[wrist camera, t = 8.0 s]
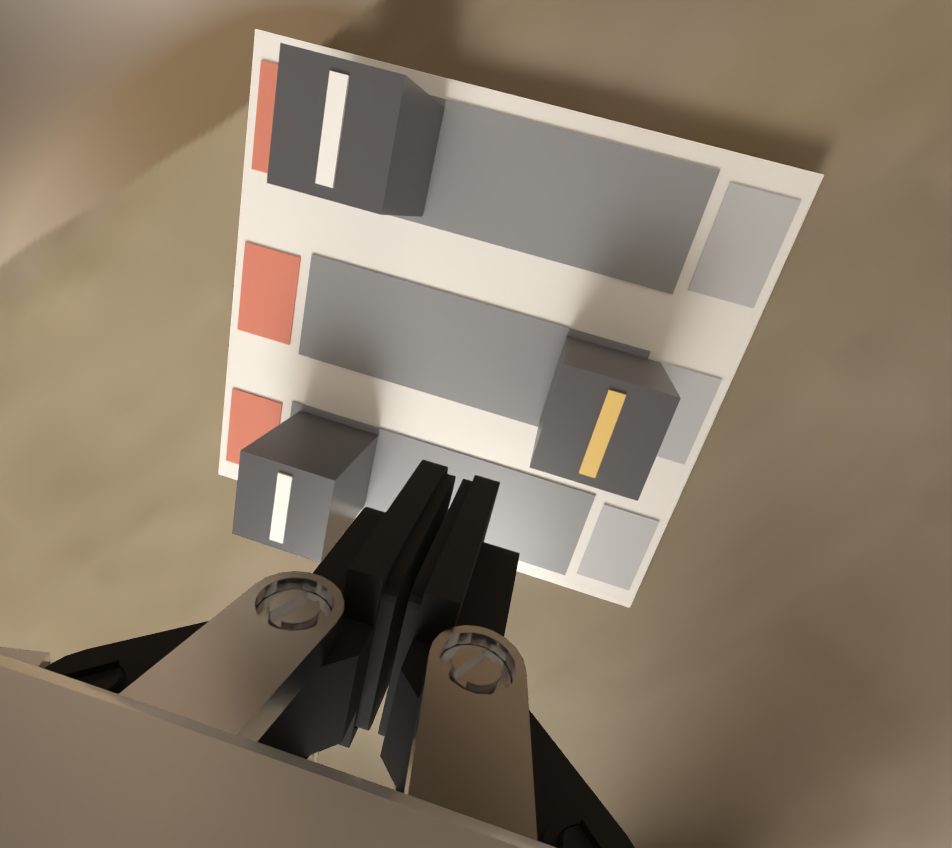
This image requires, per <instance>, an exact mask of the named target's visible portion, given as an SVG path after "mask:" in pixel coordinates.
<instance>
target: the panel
mask: <svg viewBox="0 0 952 848" xmlns="http://www.w3.org/2000/svg"><path fill="white" fill-rule="evenodd" d="M823 176H824V175H823V174H819V173H815V172H811V171H807V170H803V169H800V168H796V167H792V166H788V165H784V164H780V163H776V162H772V161H768V160H765V159H761V158H757V157H753V156H749V155H745V154H741V153H737V152H733V151H729V150H726V149H722V148H718V147H714V146H710V145H706V144H702V143H698V142H694V141H690V140H687V139H683V138H679V137H675V136H671V135H667V134H663V133H659V132H655V131H651V130H648V129H644V128H640V127H636V126H632V125H628V124H624V123H620V122H616V121H612V120H609V119H605V118H601V117H597V116H593V115H589V114H585V113H581V112H577V111H574V110H570V109H566V108H562V107H558V106H554V105H550V104H546V103H542V102H538V101H535V100H531V99H527V98H523V97H519V96H515V95H511V94H507V93H503V92H499V91H496V90H492V89H488V88H484V87H480V86H476V85H472V84H468V83H464V82H460V81H457V80H453V79H449V78H445V77H441V76H437V75H433V74H429V73H425V72H421V71H418V70H414V69H410V68H406V67H402V66H398V65H394V64H390V63H386V62H383V61H379V60H375V59H371V58H367V57H363V56H359V55H355V54H351V53H347V52H344V51H340V50H336V49H332V48H328V47H324V46H320V45H316V44H312V43H308V42H304V41H301V40H296V39H293V38H289V37H285V36H281V35H277V34H273V33H269V32H265V31H262V30H258V29H255V39H254V51H253V63H252V75H251V87H250V99H249V111H248V123H247V135H246V148H245V160H244V172H243V184H242V196H241V208H240V220H239V232H238V244H237V256H236V268H235V280H234V292H233V305H232V317H231V329H230V341H229V353H228V365H227V377H226V389H225V401H224V413H223V425H222V437H221V449H220V462H219V474H220V475H223V476H226V477H229V478H232V479H235V480H237V490H236V501H235V511H234V521H233V531H232V534H235V535H238V536H241V537H244V538H247V539H250V540H253V541H256V542H259V543H262V544H265V545H268V546H271V547H274V548H277V549H280V550H283V551H286V552H289V553H292V554H295V555H298V556H301V557H304V558H307V559H310V560H313V561H316V562H319V563H321V562H322V560H323V559H324V558H325V557H326V555H327V554H328V553H329V551H330V550H331V549H332V547H333V546H334V545H335V544H336V542H337V541H338V540H339V538H340V537H341V536H342V534H343V533H344V532H345V531H346V529H347V528H348V527H349V525H350V524H351V523H352V521H353V520H354V519H355V518H356V517H357V516H358V515H359V513H360V512H361V511H362V510H363V509H364V508H365V507H370V508H373V509H376V510H380V511H383V512H386V511H387V510H388V509H389V507H390V506H391V504H392V503H393V501H394V500H395V498H396V497H397V496H398V494H399V493H400V491H401V490H402V488H403V487H404V485H405V484H406V482H407V481H408V480H409V478H410V477H411V475H412V474H413V472H414V471H415V469H416V468H417V466H418V465H419V464H420V462H421V461H422V460H426V461H430V462H433V463H437V464H440V465H443V466H447V467H448V473H447V474H450V475H453V476H456V479H455V484H454V488H453V492H452V496H451V501H450V505H451V503H452V501H453V499H454V497H455V495H456V493H457V491H458V488H459V486H460V484H461V482H462V480H463V479H467V480H470V481H473V478H474V476H475V475H478V476H481V477H484V478H488V479H491V480H495V481H498V482H500V485H499V489H498V493H497V496H496V500H495V504H494V507H493V511H492V514H491V518H490V522H489V525H488V529H487V532H486V536H485V540H484V542H485V543H488V544H492V545H495V546H498V547H502V548H505V549H508V550H511V551H515V552H518V553H519V554H520V555H519V561H518V566H517V571H518V572H521V573H524V574H527V575H530V576H533V577H536V578H539V579H543V580H546V581H549V582H552V583H555V584H558V585H561V586H564V587H567V588H570V589H573V590H576V591H579V592H583V593H586V594H589V595H592V596H595V597H598V598H601V599H604V600H607V601H610V602H613V603H616V604H619V605H622V606H626V607H629V608H630V606H631V604H632V602H633V599H634V597H635V595H636V593H637V591H638V588H639V586H640V584H641V582H642V579H643V577H644V575H645V573H646V570H647V568H648V566H649V564H650V562H651V559H652V557H653V555H654V553H655V550H656V548H657V546H658V544H659V542H660V539H661V537H662V535H663V533H664V530H665V528H666V526H667V524H668V522H669V519H670V517H671V515H672V513H673V510H674V508H675V506H676V504H677V501H678V499H679V497H680V495H681V493H682V490H683V488H684V486H685V484H686V481H687V479H688V477H689V475H690V473H691V470H692V468H693V466H694V464H695V461H696V459H697V457H698V455H699V453H700V450H701V448H702V446H703V444H704V441H705V439H706V437H707V435H708V432H709V430H710V428H711V426H712V424H713V421H714V419H715V417H716V415H717V412H718V410H719V408H720V406H721V404H722V401H723V399H724V397H725V395H726V392H727V390H728V388H729V386H730V383H731V381H732V379H733V377H734V375H735V372H736V370H737V368H738V366H739V363H740V361H741V359H742V357H743V355H744V352H745V350H746V348H747V346H748V343H749V341H750V339H751V337H752V335H753V332H754V330H755V328H756V326H757V323H758V321H759V319H760V317H761V314H762V312H763V310H764V308H765V306H766V303H767V301H768V299H769V297H770V294H771V292H772V290H773V288H774V286H775V283H776V281H777V279H778V277H779V274H780V272H781V270H782V268H783V266H784V263H785V261H786V259H787V257H788V254H789V252H790V250H791V248H792V245H793V243H794V241H795V239H796V237H797V234H798V232H799V230H800V228H801V225H802V223H803V221H804V219H805V217H806V214H807V212H808V210H809V208H810V205H811V203H812V201H813V199H814V197H815V194H816V192H817V190H818V188H819V185H820V183H821V181H822V179H823ZM566 336H571V337H574V338H577V339H581V340H584V341H588V342H591V343H595V344H598V345H602V346H605V347H609V348H612V349H616V350H619V351H622V352H626V353H629V354H633V355H636V356H640V357H643V358H647V359H650V360H654V361H657V362H661V364H662V366H663V367H664V369H665V371H666V373H667V374H668V376H669V378H670V380H671V382H672V383H673V385H674V387H675V389H676V390H677V392H678V394H679V396H680V397H681V399H680V401H679V404H678V406H677V408H676V411H675V413H674V416H673V418H672V420H671V423H670V425H669V428H668V430H667V432H666V435H665V437H664V440H663V442H662V444H661V447H660V449H659V452H658V454H657V456H656V459H655V461H654V464H653V466H652V468H651V471H650V473H649V476H648V478H647V480H646V483H645V485H644V487H643V490H642V492H641V495H640V497H639V499H638V501H636V500H633V499H629V498H626V497H623V496H620V495H617V494H613V493H610V492H607V491H604V490H600V489H597V488H594V487H591V486H588V485H584V484H581V483H578V482H575V481H571V480H568V479H565V478H562V477H558V476H555V475H552V474H549V473H546V472H542V471H539V470H536V469H533V468H529V467H530V462H531V458H532V453H533V448H534V444H535V439H536V435H537V430H538V425H539V421H540V418H541V415H542V411H543V408H544V405H545V402H546V399H547V396H548V393H549V390H550V386H551V383H552V380H553V377H554V374H555V371H556V368H557V365H558V361H559V358H560V355H561V352H562V349H563V346H564V343H565V339H566ZM450 505H449V507H450ZM448 510H449V509H448Z"/></svg>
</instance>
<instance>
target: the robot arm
mask: <svg viewBox="0 0 952 848" xmlns="http://www.w3.org/2000/svg"><path fill="white" fill-rule="evenodd" d="M447 473H448V467H447V466H443V465H440V464H437V463H433V462H430V461H426V460H422V461H421V462H420V464H419V465H418V466H417V468H416V469H415V471H414V472H413V474H412V475H411V477H410V478H409V480H408V481H407V482H406V484H405V485H404V487H403V488H402V490H401V491H400V493H399V494H398V496H397V497H396V498H395V500H394V501H393V503H392V504H391V506H390V507H389V509H388V510H387V511H386V512H383V511H380V510H376V509H373V508H370V507H365V508H364V509H363V510H362V511H361V512H360V513H359V515H358V516H357V517H356V518H355V520H354V521H353V522H352V524H351V525H350V526H349V527H348V529H347V530H346V531H345V533H344V534H343V535H342V536H341V538H340V539H339V540H338V541H337V543H336V544H335V545H334V547H333V548H332V549H331V550H330V552H329V553H328V554H327V556H326V557H325V558H324V559H323V561H322V562H321V563H320V565H319V566H318V567H317V568H316V570H315V571H314V572H313V573H310V572H299V571H292V572H282V573H278V574H275V575H272V576H268V577H266V578H264V579H263V580H261V581H259V582H258V583H256V584H255V585H253V586H252V587H251V588H250V589H248V590H247V591H246V592H245V593H243V594H242V595H241V596H240V597H238V598H237V599H236V600H235V601H233V602H232V603H231V604H230V605H228V606H227V607H226V608H225V609H224V610H222V611H221V612H220V613H219V614H217V615H216V616H215V617H214V618H212V619H211V620H210V621H207V622H203V623H198V624H194V625H190V626H185V627H181V628H177V629H172V630H168V631H164V632H159V633H155V634H151V635H146V636H142V637H138V638H133V639H129V640H125V641H120V642H116V643H112V644H108V645H103V646H99V647H95V648H90V649H86V650H83V651H80V652H77V653H74V654H71V655H67V656H65V657H63V658H61V659H59V660H57V661H55V662H50V653H48V652H39V651H31V650H22V649H14V648H6V647H0V848H635V847H634V846H633V844H632V843H631V841H630V839H629V838H628V836H627V835H626V834H625V832H624V831H623V830H622V828H621V827H620V826H619V825H618V823H617V822H616V821H615V819H614V818H613V817H612V816H611V814H610V813H609V812H608V810H607V809H606V808H605V807H604V805H603V804H602V803H601V801H600V800H599V799H598V798H597V796H596V795H595V794H594V792H593V791H592V790H591V789H590V787H589V786H588V785H587V783H586V782H585V781H584V780H583V778H582V777H581V776H580V774H579V773H578V772H577V771H576V769H575V768H574V767H573V765H572V764H571V763H570V762H569V760H568V759H567V758H566V756H565V755H564V754H563V753H562V751H561V750H560V749H559V748H558V746H557V745H556V744H555V742H554V741H553V740H552V739H551V737H550V736H549V735H548V733H547V732H546V731H545V730H544V728H543V727H542V726H541V724H540V723H539V722H538V721H537V719H536V718H535V717H534V715H533V714H532V713H531V712H530V710H529V703H528V688H527V673H526V668H525V664H524V660H523V658H522V656H521V655H520V653H519V651H518V650H517V648H516V647H515V646H514V645H513V644H512V643H511V642H510V641H508V640H507V639H506V638H505V637H504V634H505V628H506V623H507V618H508V613H509V607H510V602H511V597H512V592H513V587H514V581H515V576H516V571H517V566H518V561H519V555H520V554H519V553H518V552H515V551H511V550H508V549H505V548H502V547H498V546H495V545H492V544H488V543H485V542H484V540H485V536H486V532H487V529H488V525H489V522H490V518H491V514H492V511H493V507H494V504H495V500H496V496H497V493H498V489H499V485H500V482H498V481H495V480H491V479H488V478H484V477H481V476H478V475H475V476H474V478H473V481H470V480H467V479H463V480H462V482H461V484H460V486H459V488H458V491H457V493H456V495H455V497H454V499H453V501H452V503H451V505H450V501H451V496H452V492H453V488H454V484H455V479H456V476H453V475H450V474H447ZM449 505H450V507H449ZM448 509H449V510H448ZM388 685H389V687H388ZM387 688H388V691H387V696H386V700H385V704H384V709H383V713H382V718H381V722H380V726H379V731H378V734H380V735H383V736H385V738H384V742H383V746H382V751H381V755H380V756H381V758H382V760H383V762H384V764H385V766H386V768H387V770H388V772H389V774H390V776H391V778H392V780H393V782H394V784H395V788H394V790H393V789H390V788H387V787H384V786H381V785H379V784H376V783H373V782H370V781H367V780H364V779H361V778H359V777H356V776H353V775H350V774H347V773H344V772H341V771H339V770H336V769H333V768H330V767H327V766H324V765H321V764H319V763H316V762H317V759H318V754H319V751H322V750H324V749H327V748H329V747H332V746H334V745H337V744H339V745H342V746H345V747H348V748H349V747H350V745H351V742H352V740H353V738H354V736H355V734H356V731H357V729H358V727H360V728H362V729H365V730H369V729H370V728H371V725H372V723H373V721H374V718H375V716H376V714H377V711H378V709H379V707H380V704H381V702H382V700H383V697H384V695H385V692H386V690H387Z"/></svg>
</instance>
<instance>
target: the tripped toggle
mask: <svg viewBox="0 0 952 848" xmlns="http://www.w3.org/2000/svg"><path fill="white" fill-rule="evenodd" d="M680 399H681V397H680V396H679V394H678V392H677V390H676V389H675V387H674V385H673V383H672V382H671V380H670V378H669V376H668V374H667V373H666V371H665V369H664V367H663V366H662V364H661V362H657V361H654V360H650V359H647V358H643V357H640V356H636V355H633V354H629V353H626V352H622V351H619V350H616V349H612V348H609V347H605V346H602V345H598V344H595V343H591V342H588V341H584V340H581V339H577V338H574V337H571V336H566V339H565V343H564V346H563V349H562V352H561V355H560V358H559V361H558V365H557V368H556V371H555V374H554V377H553V380H552V383H551V386H550V390H549V393H548V396H547V399H546V402H545V405H544V408H543V411H542V415H541V418H540V421H539V425H538V430H537V435H536V439H535V444H534V448H533V453H532V458H531V462H530V467H529V468H533V469H536V470H539V471H542V472H546V473H549V474H552V475H555V476H558V477H562V478H565V479H568V480H571V481H575V482H578V483H581V484H584V485H588V486H591V487H594V488H597V489H600V490H604V491H607V492H610V493H613V494H617V495H620V496H623V497H626V498H629V499H633V500H636V501H638V499H639V497H640V495H641V492H642V490H643V487H644V485H645V483H646V480H647V478H648V476H649V473H650V471H651V468H652V466H653V464H654V461H655V459H656V456H657V454H658V452H659V449H660V447H661V444H662V442H663V440H664V437H665V435H666V432H667V430H668V428H669V425H670V423H671V420H672V418H673V416H674V413H675V411H676V408H677V406H678V404H679V401H680Z"/></svg>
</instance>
